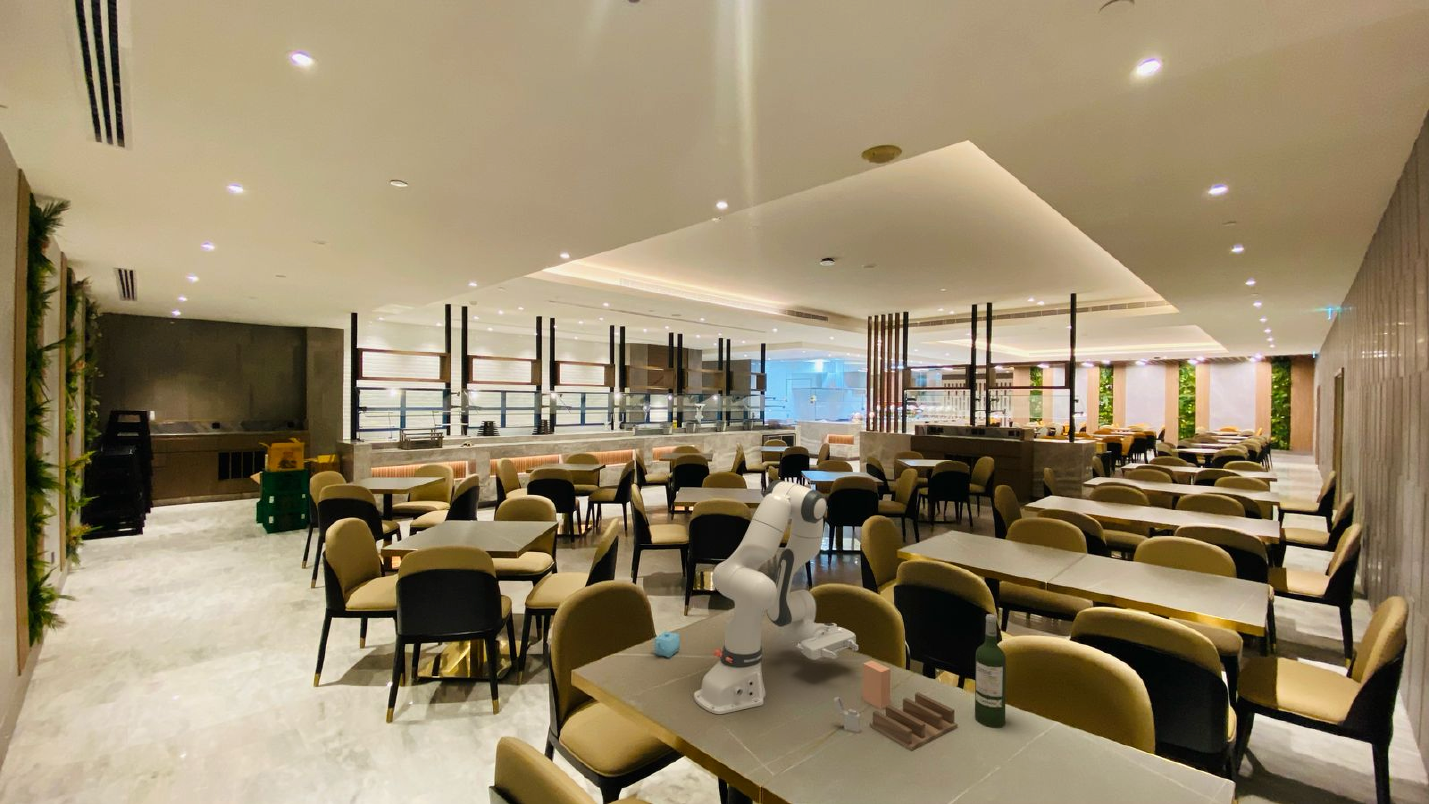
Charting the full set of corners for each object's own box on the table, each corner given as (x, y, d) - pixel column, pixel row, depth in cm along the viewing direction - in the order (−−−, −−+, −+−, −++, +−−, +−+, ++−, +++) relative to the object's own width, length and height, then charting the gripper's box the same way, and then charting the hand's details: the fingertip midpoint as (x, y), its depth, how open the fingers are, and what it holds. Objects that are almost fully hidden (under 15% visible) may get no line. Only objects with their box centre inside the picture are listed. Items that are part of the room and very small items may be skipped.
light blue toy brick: (664, 663, 209) (664, 641, 209) (649, 660, 212) (649, 638, 212) (681, 650, 220) (681, 629, 220) (667, 647, 222) (667, 626, 222)
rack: (911, 750, 158) (911, 733, 158) (869, 726, 170) (869, 710, 170) (957, 727, 170) (957, 711, 170) (915, 706, 181) (915, 691, 181)
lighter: (860, 729, 168) (860, 700, 168) (858, 732, 167) (859, 703, 167) (834, 723, 171) (834, 695, 171) (833, 726, 170) (833, 698, 170)
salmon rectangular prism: (880, 709, 179) (881, 672, 179) (862, 699, 185) (863, 663, 185) (889, 705, 182) (890, 668, 181) (871, 695, 187) (871, 660, 187)
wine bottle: (975, 724, 171) (977, 618, 171) (974, 711, 179) (975, 609, 178) (1006, 730, 168) (1008, 622, 168) (1003, 716, 176) (1005, 612, 176)
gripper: (792, 636, 199) (822, 651, 188) (837, 621, 211) (868, 634, 200) (793, 655, 200) (823, 671, 188) (837, 639, 211) (868, 653, 200)
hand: (846, 652), depth 194 cm, fingers open, 8 cm apart
